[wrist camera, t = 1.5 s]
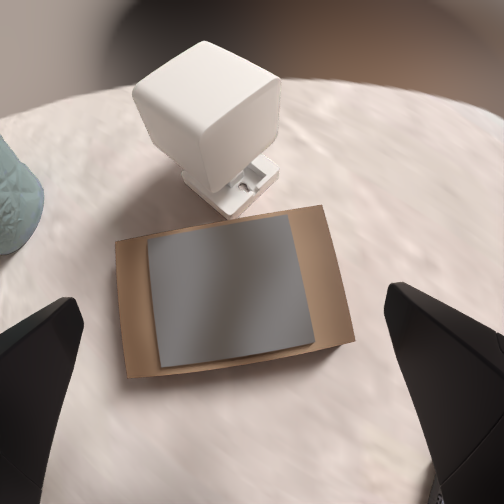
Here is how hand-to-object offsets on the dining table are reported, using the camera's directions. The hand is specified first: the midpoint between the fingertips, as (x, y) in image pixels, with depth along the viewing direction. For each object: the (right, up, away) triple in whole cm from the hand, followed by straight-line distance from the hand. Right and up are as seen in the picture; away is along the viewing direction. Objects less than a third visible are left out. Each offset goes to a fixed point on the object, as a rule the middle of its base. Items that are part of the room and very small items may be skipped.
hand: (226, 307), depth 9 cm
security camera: (-2, +8, +17) cm, 19 cm away
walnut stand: (-1, -2, +14) cm, 14 cm away
